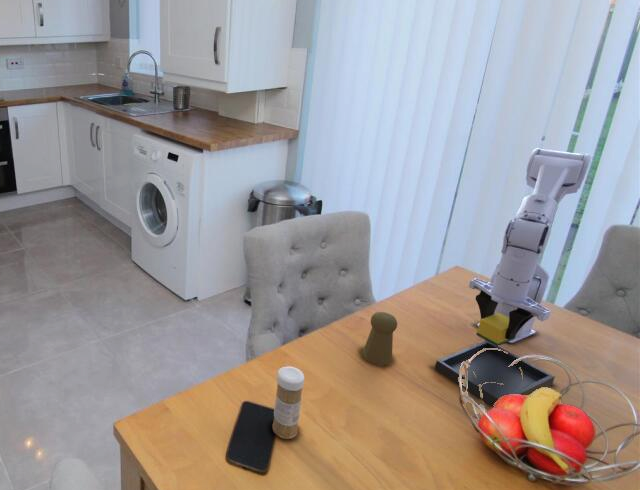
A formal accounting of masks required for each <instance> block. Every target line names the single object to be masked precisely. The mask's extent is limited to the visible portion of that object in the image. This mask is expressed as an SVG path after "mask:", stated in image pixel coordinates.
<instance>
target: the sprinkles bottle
mask: <svg viewBox="0 0 640 490" xmlns="http://www.w3.org/2000/svg"><path fill="white" fill-rule="evenodd" d="M276 382H277V385H276V386H277V387H276V393H275V394H276V395H275V401H274V410H273V423H272V427H271V428H272V431H273V433H274V434H275V435H276V436H277V437H279V438H281V439H283V440H291V439H294V438H295V437H296V436H297V434H298V423H299V418H300V412H301V404H302V392H303V388H304V384H305V374H304V373H303V371H302V370H300V368H297V367H294V366H290V365H288V366H283V367H280V368H279V369H278V371H277V375H276Z"/></svg>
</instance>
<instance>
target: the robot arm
mask: <svg viewBox="0 0 640 490" xmlns="http://www.w3.org/2000/svg"><path fill="white" fill-rule="evenodd" d="M591 159H592V156H591V155H590V154H589V153H585V154H584V153H578V152H577V153H576V152H568V151H559V150H552V149H543V148H540V147H536V148H535V149H533V150H532V152H531V154H530V157H529V159H528V163H527V166H526V176H525V181H526V185H527V186H529V187H530V188H532V189H533V192H532V194H529V195H526V196H525V197H524V198H522V201H521V203H520V206H519V207H518V210H517V212H516V214H515V216H514V218H513V220H512V219H510V220H509V221H508V223H507V225H506V228H505V231H504V234H503V238H502V247H501V252H500V254H501V256H500V260H499V262H498V263H497V264H496V266H495V269H493V272H492V274H491V278H490V280H489V281H486V280H483V279H481V278H478V277H475V278H471V279H470V280H469V283H468V288H469V289H471V290H477V291H479V293H478V294H477V295H475V302H476V303H477V305H478V309H479V312H480V320H481V319H483V318H486V317H488V316H491V315H494V314H496V313H500V314H502V315H504V316H506V317H508V318H509V325H508V329H507V331H506V336H505V338H506V339H508V340H509V339H512V338H514V337H515V335H516V338H515V339H513V340H511V341H508V342H507V343H509V344H513V343H516V342H519V341H521V340H524V339H525V338H527V337H530V336H532V335H535V334H536V330H534V329H533V327H534V326H533V325H534V323H535V320H536V319H537V320H539V321H540V322H544V321H547V320H549V319H550V316H551V313H552V310H550V309H549V308H547V307H545V306H543V305H541V304H542V301H543V299H544V296H545V293H546V290H547V287H548V284H549V283H548V282H549V279H550V275H549V272H548V271H547V270H546V269H545V268H544V267H543V266H542V265H541V264H540V262H539V261H540V258H541V255H542V254H543V252H544V251H545V250H546V247H547V244H548V243H549V239H550V236H551V233H552V225H553V220H554V218H555V216H556V213H557V211H558V208H559V204H560V202H561V201H562V200H563V199H564V198H565V196H566V195H571V194H575V193H576V194H577V193H578V191H579V189H581V187H582V184H583V181H584V180H585V177H586V175H587V172H588V169H589V166H590V163H591ZM479 323H480V322H479ZM479 323H477V324H476V326H477V328H478V327H479Z"/></svg>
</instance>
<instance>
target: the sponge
mask: <svg viewBox="0 0 640 490" xmlns="http://www.w3.org/2000/svg"><path fill="white" fill-rule="evenodd" d="M508 325H509V318H508V317H506V316H504V315H502V314H500V313H496V314H494V315H491V316H488V317H486V318H483V319H481V318H480V320H479V327H478V326H477V330H476V334H475V335H476V336H478V337H479V338H481V339H483V340H484V341H485V340H487V341H488V342H490V343H492V344H494V345H496V346H499V347H500V346H501V345H503V344H506V343H509V342H508V341H511V340H513V339H515V338H516V335H515V337H514V338H512V339H509V340H508V339H506V338H505V336H506V331H507V329H508Z"/></svg>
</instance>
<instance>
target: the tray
mask: <svg viewBox="0 0 640 490" xmlns="http://www.w3.org/2000/svg"><path fill="white" fill-rule="evenodd" d="M483 348H498V349H501V350H503V351H506V352H508V354H506V353H504V352H503V351H498V350H486V351H484V352H482V353H480V354H479V355H477V356H476V357H475V358H474V359H473V360H472V361H471V363H470V367H468V368H467V371H468V390H469V391H468V390H467V391H468V392H470V393H471V394H473V395H475V396H476V397H477V398H479V399H481V398H480V391H479V386H478V385H479V384H481V385H482V384H483V383H485V382H489V383H486V384H483V385H482V387H481V389H482V393H483V400H482V401H484V402H485V403H487V404H488V405H489V406H491V407H493V405H494V403H495V402H496V401H497V400H498V399H499V398H500V397H502V396H504V395H509V394H521V395H529V394H531V393H532V392H533V391H535V390H536V389H539V388H541V387H548V388H550V387H552V386H553V384H554V381H555V378H556V376H555V375H553V374H551V373H549V372H547V371H546V370H543V369H542V368H540V367H538V366H536V365H534V364H532V363H531V362H529V361H527V360H524V359H523V360H521V361H519V362H518V363H517V364H514V365H513V366H510V367H508V366H509V365H510V364H511V363H512V362H513V361H514V360H516V359H518V358H520V356H517V355H516V354H514V353H512V352H510V351H508V350H506V349H504V348H502V347H501V346H500V345H499V346H496V345H494V344H492V343H490V342H488V341H487V340H485V339H484V340H483V341H480V342H478V343H476V344H473V345H470V346H468V347H466V348H463V349H461V350H458V351H456V352H454V353H452V354H449V355H446V356H444V357H441V358H439V359H437V360H435V366H434V370H436V371H437V372H439V373H440V374H442V375H443V376H445V377H447V378H448V379H449V380H451V381H453V382H454V383H455V384H457V385H459V382H458V377H459V369H460V366H461V363H462V362H463V361H466V360H468V359H470V358H471V357H472V356H473V355H474V354H476V353H477V352H478V351H480V350H482V349H483ZM519 367H521V369H522V371H523V379H522V375H521V371H520V369H519ZM473 371H474V372H475V374H476V377H477V378H476V377H475V375H474V373H473ZM462 379H465V375H462ZM490 382H496V383H490ZM497 383H503V384H504V385H500V384H497ZM462 384H463V383H462Z"/></svg>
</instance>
